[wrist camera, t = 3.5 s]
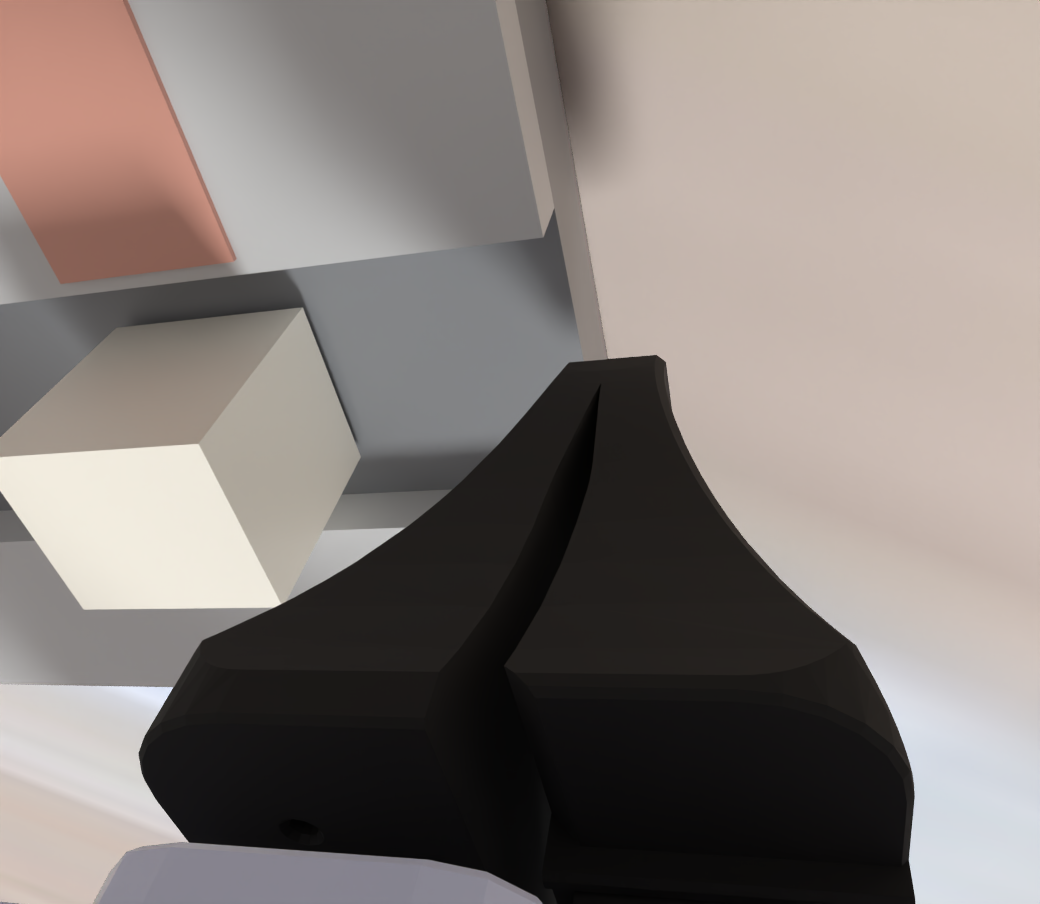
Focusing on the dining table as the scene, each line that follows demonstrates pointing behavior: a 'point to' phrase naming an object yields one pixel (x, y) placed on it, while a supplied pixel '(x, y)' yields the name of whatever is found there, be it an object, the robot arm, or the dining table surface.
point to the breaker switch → (184, 463)
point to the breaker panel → (285, 246)
